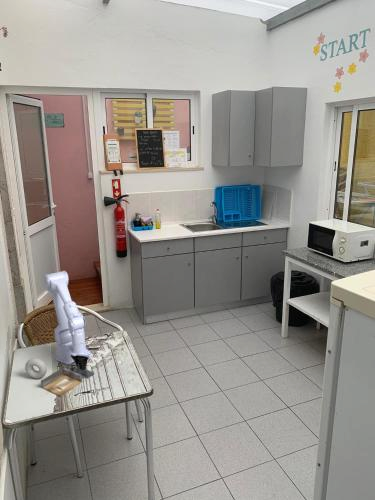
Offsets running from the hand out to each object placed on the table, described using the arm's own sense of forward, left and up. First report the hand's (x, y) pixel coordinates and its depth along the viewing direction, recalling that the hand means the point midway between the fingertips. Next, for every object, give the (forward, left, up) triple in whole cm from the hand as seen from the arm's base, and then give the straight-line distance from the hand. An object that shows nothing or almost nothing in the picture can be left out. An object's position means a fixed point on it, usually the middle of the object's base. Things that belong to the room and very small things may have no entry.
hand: (81, 368), depth 176 cm
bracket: (+3, 0, -2) cm, 4 cm away
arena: (0, -11, -2) cm, 11 cm away
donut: (-15, -13, -3) cm, 20 cm away
